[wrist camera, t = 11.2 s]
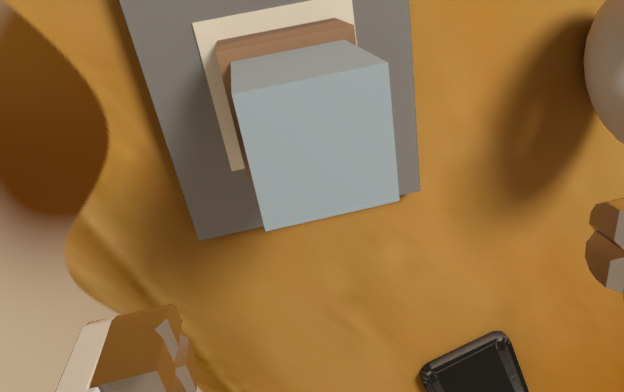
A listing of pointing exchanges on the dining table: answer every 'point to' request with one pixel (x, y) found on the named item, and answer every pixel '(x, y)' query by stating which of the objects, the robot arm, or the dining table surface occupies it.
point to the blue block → (316, 131)
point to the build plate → (213, 100)
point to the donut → (607, 66)
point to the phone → (476, 368)
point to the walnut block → (273, 44)
